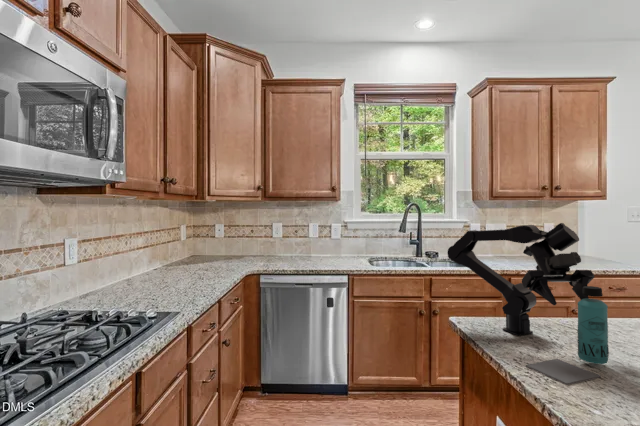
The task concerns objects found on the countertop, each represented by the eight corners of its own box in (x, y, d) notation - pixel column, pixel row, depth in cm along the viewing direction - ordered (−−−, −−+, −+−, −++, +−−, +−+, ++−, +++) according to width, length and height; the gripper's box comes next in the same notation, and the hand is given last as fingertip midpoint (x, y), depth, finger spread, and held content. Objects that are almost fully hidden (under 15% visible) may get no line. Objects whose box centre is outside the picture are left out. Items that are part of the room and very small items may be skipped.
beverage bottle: (571, 360, 97) (570, 284, 98) (597, 359, 97) (595, 284, 97) (588, 370, 91) (587, 289, 91) (616, 370, 91) (614, 289, 91)
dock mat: (525, 366, 94) (525, 364, 94) (557, 360, 98) (557, 358, 98) (566, 385, 84) (566, 383, 84) (600, 377, 87) (600, 375, 87)
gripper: (527, 242, 107) (552, 288, 96) (590, 242, 108) (622, 288, 97) (512, 265, 115) (533, 310, 104) (570, 264, 116) (598, 309, 105)
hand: (571, 304), depth 102 cm, fingers open, 9 cm apart
